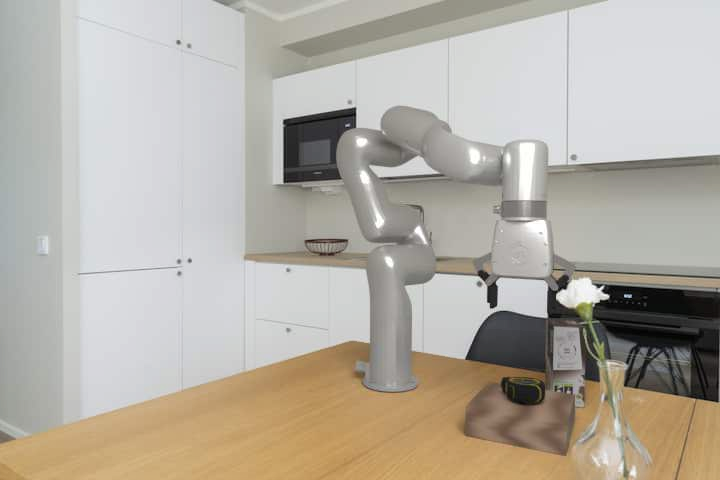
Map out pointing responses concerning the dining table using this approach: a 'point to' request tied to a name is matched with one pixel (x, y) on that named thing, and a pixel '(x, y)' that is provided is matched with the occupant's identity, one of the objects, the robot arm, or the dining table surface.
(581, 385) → the coffee box
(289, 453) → the dining table surface
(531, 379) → the tape measure
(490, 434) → the block
